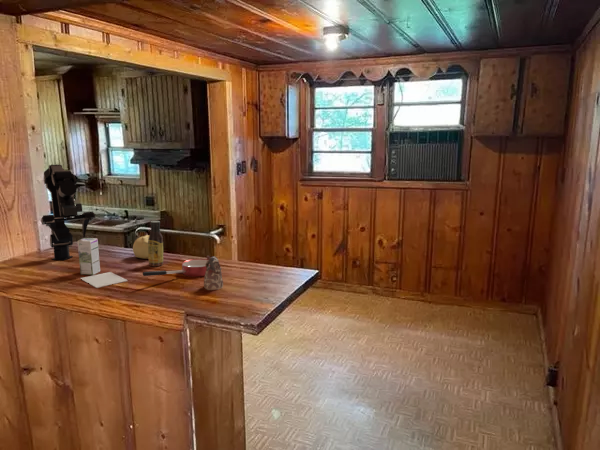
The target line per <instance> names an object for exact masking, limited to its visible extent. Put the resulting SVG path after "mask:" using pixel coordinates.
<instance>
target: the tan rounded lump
mask: <svg viewBox="0 0 600 450" xmlns="http://www.w3.org/2000/svg"><path fill="white" fill-rule="evenodd" d="M149 236H150V234H149V235H148V234H146V235H142V236H140V237H138V238H136V239H135V240H134V242H133V245H132V252H133V255H134V256H135V257H136V258H139V259H147V260H149V257H148V239H149Z"/></svg>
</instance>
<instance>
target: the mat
mask: <svg viewBox="0 0 600 450" xmlns="http://www.w3.org/2000/svg"><path fill="white" fill-rule="evenodd" d="M81 279H82V281H83V282H85V283H87V284H88V283H89V284H88V285H90V286H92V287H94V288H96V289H99V288H103V287H107V286H111V285H112V284H113V285H116V284H120V283H126V282H129V280H128V279H126V278H123V277H122V276H120V275H118V274H116V273H113V272H112V271H108V272H104V273H97V274H94V275H87V276H85V277H80V280H81Z"/></svg>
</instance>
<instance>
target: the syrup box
mask: <svg viewBox="0 0 600 450" xmlns="http://www.w3.org/2000/svg"><path fill="white" fill-rule="evenodd" d="M77 250H78V261H79V270H80V271H79V272H80V275H85V276H86V275H87V276H93V275H97V274H99V273H100V272H101V263H100V254H99V250H100V249H99V241H98V238H96V237H95V238H93V237H92V238H91V237H88V238H87V237H85V238H83V237H82V238H81V239H79V240H77Z"/></svg>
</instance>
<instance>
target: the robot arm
mask: <svg viewBox="0 0 600 450" xmlns="http://www.w3.org/2000/svg"><path fill="white" fill-rule="evenodd" d="M43 183H44V185H45V187H46V190H47V191H49V192H50V197H51V206H52V214H45V215H42V217H41V219H40V221H41V222H40V223H41V225H45V227H48V228H49V229H50V231H51V232H50V233H51V234H50V235H49V244H50V247H51V248H53V256H54V257H52V258H51V260H52V261H53V260H54V261H66V260H70V259H71V258H73V257H74V255H70V246H73V245H74V243H73V240H74V239H73V238H74V236H73V234H72V233H71V232H70V229H69V227H68V226H67V224H66V223H65V221H74V220H75V221H77V220H82V221H81V224H82V225H81V228H82V239H83V238H86V233H87V228H88V225H89V223H91V222H92V221H94V220H95V219H96V214H95V212H94V211H85V212H84V211H83V204H82V203H76V204H75V197H74V196H75V194H76V192H77V183H78V180H77V178H76V176H75V174H74V172H72V171H71V170H66V169H64V168H63V165H62V164H49V165H48V168H47V169H45V171H44V172H43ZM80 212H81V214H79V213H80Z"/></svg>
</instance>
